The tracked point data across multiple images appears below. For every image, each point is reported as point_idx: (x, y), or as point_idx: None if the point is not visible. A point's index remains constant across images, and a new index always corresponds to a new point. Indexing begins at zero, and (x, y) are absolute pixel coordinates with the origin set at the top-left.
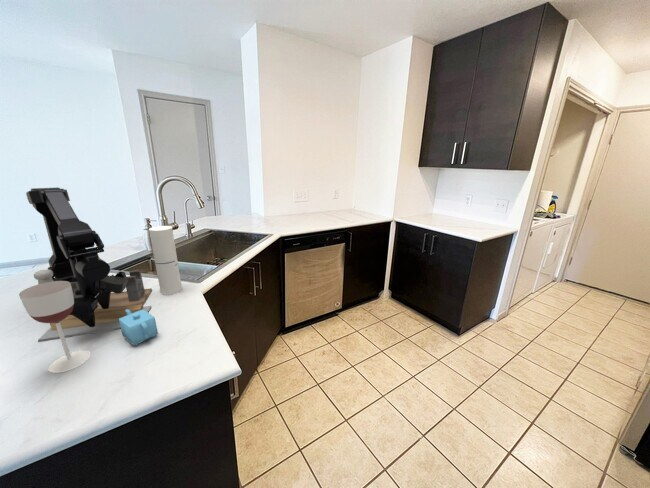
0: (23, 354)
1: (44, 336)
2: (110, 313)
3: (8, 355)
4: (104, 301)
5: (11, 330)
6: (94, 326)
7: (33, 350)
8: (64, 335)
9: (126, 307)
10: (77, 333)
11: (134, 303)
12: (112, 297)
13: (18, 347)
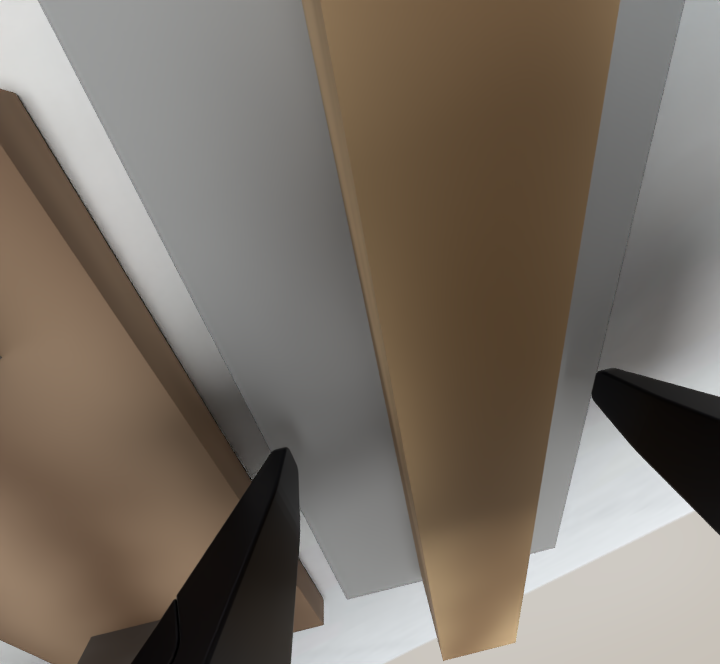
0: (633, 515)
1: (531, 545)
2: (561, 328)
3: (608, 549)
4: (266, 600)
5: (411, 642)
6: (613, 368)
7: (619, 506)
8: (566, 480)
9: (413, 110)
10: (580, 432)
11: (13, 247)
12: (3, 557)
13: (559, 559)
